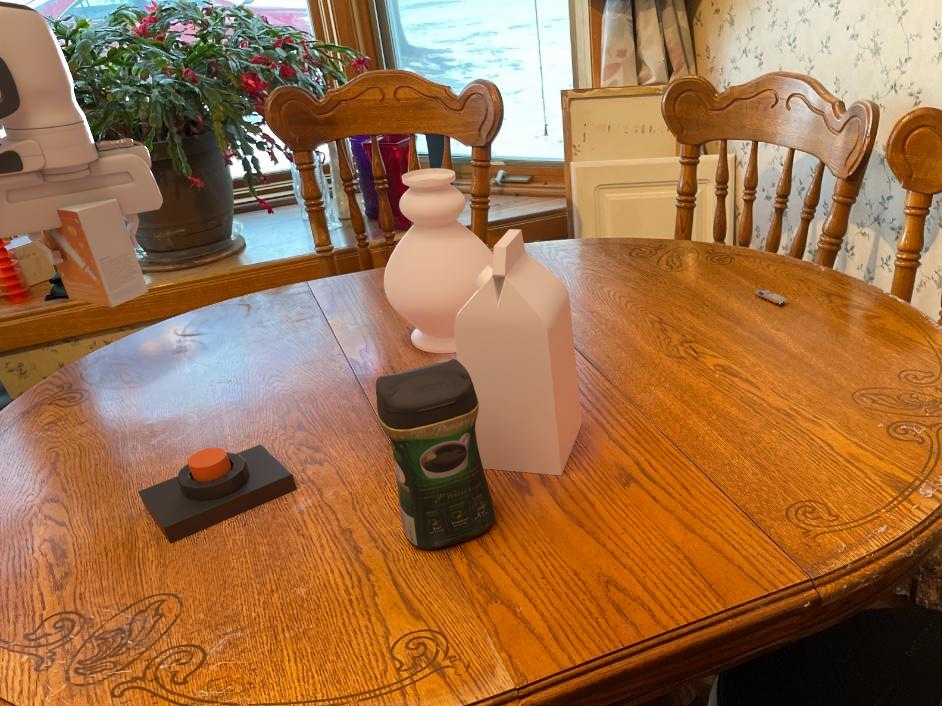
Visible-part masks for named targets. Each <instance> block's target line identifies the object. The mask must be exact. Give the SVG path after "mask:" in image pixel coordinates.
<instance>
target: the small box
mask: <svg viewBox="0 0 942 706" xmlns="http://www.w3.org/2000/svg"><path fill="white" fill-rule="evenodd" d="M57 212H58V215H59V218H60V220H61V223H62V227H61V228H55V229H50V230H44V231H42V234H43V237H44V239H45V240H46V243H47V247H48V248H49V249H50V248H55V247H56V248H57V249H59V251H60V253H61V257H62V258H63V261H64V263H60V264H56V265H55V267H56V269H57V272H58V274H59V277H60V279H61V282H62V285H63V287H64V289H65V292H66V295H67V297H68V299H69V300H70V301H78V302H84V303H88V304H89V303H90V304H93V305H94V304H95V305H101V306H105V307H108V308H114V307H116V306H119V305H122V304H123V303H126V302H128V301H130V300H133V299H135V298H138V297H140V296H142V295H145V294H147V293H149V289H148V286H147V283H146V279H145V278H144V274H143V272H142V268H141V265H140V262H139V259H138V256H137V254H136V250H135V248H134V247H133V245H132V242H131V239H130V236H129V233H128V230H127V225H126V220H124V218H123V215H122V212H121V209H120V206H119V203H118V200H117V199H111V200H104V201H98V202H91V203H85V204H80V205H74V206H69V207H64V208H59V209H57Z"/></svg>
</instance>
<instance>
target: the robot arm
mask: <svg viewBox="0 0 942 706" xmlns="http://www.w3.org/2000/svg"><path fill="white" fill-rule="evenodd" d="M0 123H1V125H2V127H3V130H4V133H5V136H3V137H1V138H0V239H6V238H12V237H17V236H23V235H27V238H28V240H29V241H30V242H31V243H33V244H34V245H35V246H37V248H39V249H40V250H42V251H43V252H44V254H45V256H46V259H47V261H48V263H49V265H51V266H56V264H60V263H64V261H63V258H62V257H61V253H60V251H59V249H57V248H56V247H55V248H50V249H49V246H48V245H46V244H45V243H44V242H43V240H45V236H44V234H43V231H44V230H50V229H55V228H61V227H62V223H61V220H60V218H59V215H58V212H57V209H59V208H64V207H69V206H74V205H80V204H85V203H91V202H98V201H104V200H111V199H117V200H118V203H119V206H120V209H121V212H122V215H123V218H124V221H125V222H127V225H126V227H127V230H128V233H129V236H130V239H131V242H132V245H133V247H134V249H136V248H139V244H138V240H137V238H136V235H137V233H138V228H139V224H140V218H139V215H138V214H141V213H147V212H152V211H157V210H160V209H161V207H162V204H163V202H164V199H163V196H162V193H161V190H160V188H159V186H158V184H157V183H158V182H157V181H156V179H155V176H154V175H153V173H152V171H151V169H152V160H151V156H150V153H149V150H148V148H147V147H146V145H145V144H143V143H142V142H140V141H137V140H133V139H132V138H130V137H123V138H120V139H117V140H116V139H115V140H102V141H94V138H93V135H92V132H91V129H90V125H89V124H88V120H87V118H86V115H85V113H84V111H83V110H82V109H81V107H80V105H79V104H78V102H77V100H76V95H75V91H74V80H73V77H72V74H71V72H70V69H69V66H68V63H67V61H66V58H65V55H64V53H63V51H62V48H61V45H60V44H59V41H58V39H57V37H56V35H55V33H54V31H53V29H52V27H51V25H50V23H49V22H48V20H47V19H46V18H45V17H44V16H43V15H42V14H41V13H40V12H39V11H37V10H36V9H34V8H32V7H30V6H28V5H26V4H22V3H21V4H20V3H15V2H8V1H1V0H0Z"/></svg>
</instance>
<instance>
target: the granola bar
mask: <svg viewBox="0 0 942 706" xmlns="http://www.w3.org/2000/svg"><path fill="white" fill-rule="evenodd" d="M755 293H757V294H759V295H761V296H764V297H766V298H769V299H771V300H774V301H776V302H779V304H778V305H782V304H781V303H783V301H786V300H788V299H787V298H786V297H784V296H782V295H780V294H777V293H775V292H772V291H770V290H769V289H765V288H761V289H758V290H756V291H753V294H755ZM783 304H784V303H783Z"/></svg>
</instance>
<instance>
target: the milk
mask: <svg viewBox="0 0 942 706" xmlns="http://www.w3.org/2000/svg"><path fill="white" fill-rule="evenodd" d="M522 231H523V230H522V229H516V228H515V229H513V228H512V229H508V230H507V231H506V232H505V234H503V236H502V237H501V238H500V239H499V240H498V241H497V242H496V243H495V244H494V246H493V252H492V254H493V268H491V267H490V266H489V265H487V267H486V268H485V269H484V270H483V271H482V272H481V274H480V275H479V276H478V277H477V278H476V279H475V281H474V282H473V283H472V285H473V286H475V287H476V288H477V289H478V290H477V291H476V292H475V294H474V295H473V296H472V297H471V298H470V299H469V301H468V302H467V303H466V304H465V305H464V307H463V308H462V309H461V310H460V311H459V313H458V314H457V317H456V321H455V324H454V333H455V343H456V352H455V353H456V360H458V361H459V362H460V363H461V364H462V365H463V366H464V367H465V368H466V370H467V371H468V373H469V375H470V377H471V380H472V382H473V385H474V389H475V392H476V395H477V399H478V402H479V411H478V415H477V419H476V424H475V430H476V438H477V445H478V450H479V454H480V458H481V462H482V466H483V470H490V469H492V470H491V471H502V470H503V471H504V472H514V471H515V473H526V472H527V473H528V474H538V475H539V474H540V475H550V476H561V477H562V476H563V473H564V470H565V467H566V466H567V463H568V460H569V458H570V455H571V453H572V450H573V448H574V445H575V443H576V441H577V438H578V435H579V433H580V430H581V427H582V424H583V417H582V408H581V407H582V406H581V399H580V388H579V379H578V377H579V376H578V368H577V359H576V349H575V339H574V329H573V320H572V312H571V311H572V310H571V308H572V307H571V299H570V294H569V291H568V289H567V287H566V285H565V284H564V283H563V282H562V281H561V280H560V278H558V277H557V276H556V275H555V274H553V272H551V271H550V270H549V269H547V267H545V265H543V264H541V263H540V262H539V261H538V260H537V259H536V258H535V257H533V256H532V255H531V254H529V252H527V251H526V247H525V242H524V236H523V232H522ZM493 469H494V470H493ZM503 471H502V472H503Z"/></svg>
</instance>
